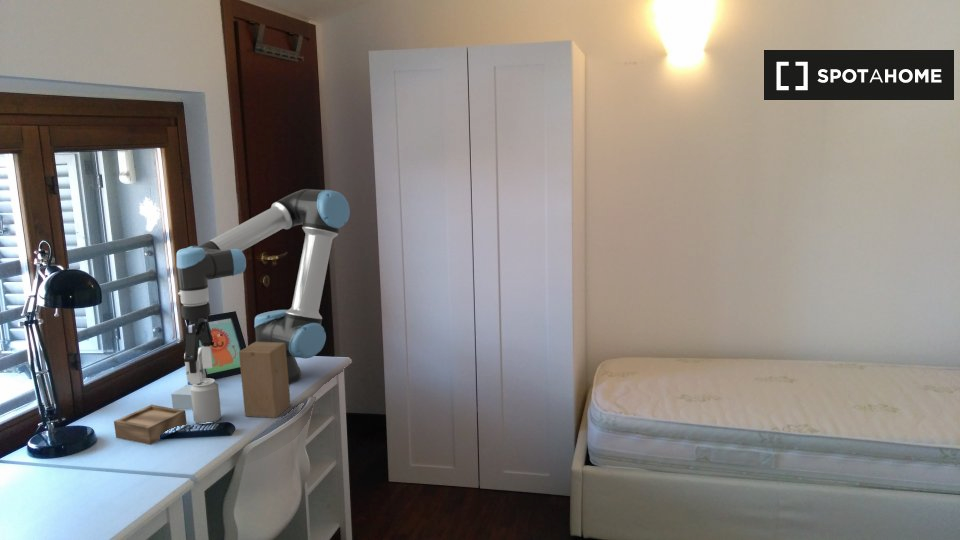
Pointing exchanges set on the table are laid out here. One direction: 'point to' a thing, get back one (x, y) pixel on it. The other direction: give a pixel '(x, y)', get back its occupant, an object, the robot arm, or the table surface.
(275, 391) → the wooden block
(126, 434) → the walnut base block
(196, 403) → the can
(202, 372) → the ink box
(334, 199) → the robot arm
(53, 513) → the table surface
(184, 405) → the slate painted block
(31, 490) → the table surface
